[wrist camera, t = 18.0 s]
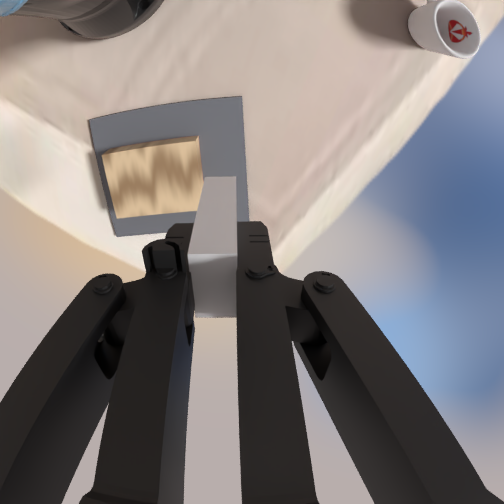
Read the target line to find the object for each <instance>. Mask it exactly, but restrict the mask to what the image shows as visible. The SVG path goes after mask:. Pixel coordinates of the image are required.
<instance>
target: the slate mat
mask: <svg viewBox="0 0 504 504" xmlns="http://www.w3.org/2000/svg"><path fill="white" fill-rule="evenodd" d="M89 122H90V127H91V133H92V138H93V143H94V148H95V153H96V158H97V163H98V167H99V171H100V176H101V180H102V184H103V188H104V192H105V196H106V200H107V204H108V208H109V211H110V215H111V219H112V222H113V226H114V229H115V233H116V236H117V237H121V236H132V235H143V234H155V233H166V232H167V231H168V229H169V228H170V227H172V226H173V225H174V224H175V223H194V222H195V218H196V213H197V211H188V212H177V213H166V214H156V215H146V216H136V217H127V218H118V219H117V217H116V213H115V210H114V206H113V202H112V198H111V194H110V190H109V186H108V182H107V177H106V173H105V168H104V164H103V159H102V154H104V153H105V152H106V151H108V150H109V149H110V148H116V147H121V146H127V145H133V144H139V143H145V142H151V141H158V140H166V139H173V138H181V137H190V136H199V146H200V155H201V164H202V172H203V181H204V180H205V177H233V176H236V205H237V222H248V221H249V208H248V191H247V174H246V156H245V139H244V122H243V105H242V96H238V97H224V98H213V99H203V100H194V101H186V102H178V103H171V104H164V105H158V106H152V107H146V108H140V109H135V110H130V111H125V112H120V113H115V114H111V115H106V116H102V117H98V118H94V119H90V120H89Z"/></svg>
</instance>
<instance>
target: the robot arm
mask: <svg viewBox="0 0 504 504" xmlns="http://www.w3.org/2000/svg"><path fill="white" fill-rule="evenodd" d="M163 1H164V0H0V16H3V17H4V16H8V15H20V16H33V17H43V18H52V19H57V20H58V21H59V22H60V23H61V24H62V25H63V26H64V27H65V28H66V29H67V30H68V31H70V32H71V33H73V34H75V35H78V36H81V37H86V38H94V39H105V38H112V37H116V36H119V35H122V34H124V33H127V32H129V31H131V30H133V29H135V28H136V27H138V26H139V25H141V24H142V23H144V22H145V21H146V20H147V19H148V18H150V17H151V16H152V15H153V14H154V13H155V11H156V10H157V9H158V8H159V7H160V5H161V4H162V2H163ZM142 254H143V259H144V264H145V269H146V275H145V277H144V278H142V279H139V280H136V281H132V282H127V283H123V282H122V279H121V278H120V277H119V276H117V275H115V274H102V275H98V276H96V277H95V278H92V280H90V281H89V282H88V283H87V284H86V285H85V286H84V288H83V289H82V290H81V291H80V293H79V294H78V295H77V296H76V297H75V299H74V300H73V301H72V302H71V304H70V305H69V306H68V307H67V309H66V310H65V311H64V312H63V314H62V315H61V316H60V317H59V319H58V320H57V321H56V323H55V324H54V325H53V327H52V328H51V329H50V331H49V332H48V333H47V335H46V336H45V337H44V339H43V340H42V341H41V343H40V344H39V345H38V347H37V348H36V350H35V351H34V352H33V354H32V355H31V357H30V358H29V360H28V361H27V362H26V364H25V365H24V367H23V368H22V370H21V371H20V373H19V374H18V376H17V377H16V379H15V380H14V382H13V383H12V385H11V387H10V388H9V390H8V391H7V393H6V394H5V396H4V398H3V399H2V401H1V402H0V504H61V503H62V501H63V499H64V496H65V494H66V492H67V490H68V487H69V485H70V483H71V480H72V478H73V476H74V474H75V471H76V469H77V467H78V465H79V463H80V460H81V459H82V456H83V454H84V452H85V450H86V448H87V446H88V444H89V442H90V439H91V437H92V435H93V433H94V431H95V429H96V427H97V425H98V423H99V421H100V419H101V417H102V415H103V413H104V411H105V409H106V407H107V405H108V403H109V405H108V410H107V414H106V419H105V424H104V428H103V433H102V439H101V444H100V449H99V455H98V461H97V467H96V474H95V480H94V485H93V487H92V489H91V491H90V492H88V493H87V494H85V495H84V496H83V497H82V499H81V500H80V502H79V504H183V501H184V470H185V448H186V431H187V415H188V401H189V388H190V376H191V363H192V353H193V343H194V332H195V327H194V321H193V317H194V310H195V316H196V317H205V318H206V317H209V318H211V317H212V318H216V317H217V318H218V317H221V318H222V317H237V362H238V363H237V365H238V405H239V438H240V465H241V489H242V490H241V491H242V504H319V502H318V500H317V497H316V492H315V485H314V478H313V471H312V464H311V458H310V451H309V446H308V439H307V432H306V425H305V420H304V413H303V407H302V400H301V395H300V388H299V382H298V376H297V370H296V365H295V359H294V353H293V347H292V341H293V342H294V346H295V348H296V350H297V351H298V353H299V355H300V357H301V359H302V361H303V363H304V365H305V367H306V369H307V371H308V373H309V375H310V377H311V379H312V381H313V383H314V385H315V387H316V389H317V391H318V393H319V395H320V397H321V399H322V401H323V403H324V405H325V407H326V409H327V411H328V413H329V415H330V417H331V419H332V421H333V423H334V425H335V426H336V429H337V431H338V433H339V435H340V436H341V439H342V441H343V442H344V444H345V446H346V448H347V450H348V452H349V454H350V456H351V458H352V460H353V462H354V464H355V466H356V468H357V470H358V472H359V474H360V476H361V478H362V480H363V482H364V484H365V485H366V487H367V489H368V492H369V494H370V496H371V497H372V499H373V501H374V503H375V504H504V502H503V501H502V500H500V499H499V498H498V497H496V496H495V495H494V494H492V493H491V492H489V491H488V490H487V489H486V488H485V486H484V484H483V482H482V481H481V479H480V477H479V475H478V474H477V472H476V470H475V469H474V467H473V465H472V464H471V462H470V461H469V459H468V457H467V456H466V454H465V453H464V451H463V449H462V447H461V446H460V444H459V443H458V441H457V440H456V438H455V436H454V435H453V434H452V432H451V430H450V429H449V427H448V426H447V424H446V423H445V421H444V420H443V418H442V416H441V415H440V414H439V412H438V411H437V409H436V407H435V406H434V404H433V403H432V401H431V400H430V398H429V397H428V396H427V394H426V393H425V392H424V390H423V388H422V387H421V385H420V384H419V382H418V381H417V380H416V378H415V377H414V375H413V374H412V373H411V371H410V370H409V368H408V367H407V365H406V364H405V363H404V361H403V360H402V359H401V357H400V356H399V354H398V353H397V352H396V350H395V349H394V347H393V346H392V345H391V343H390V342H389V340H388V339H387V338H386V336H385V335H384V334H383V332H382V331H381V330H380V328H379V327H378V326H377V324H376V323H375V322H374V320H373V319H372V318H371V316H370V315H369V314H368V312H367V311H366V310H365V308H364V307H363V306H362V304H361V303H360V302H359V301H358V299H357V298H356V297H355V295H354V294H353V293H352V292H351V290H350V289H349V288H348V287H347V285H346V284H345V283H344V281H343V280H342V279H341V278H339V277H338V276H337V275H335V274H332V273H329V272H324V271H319V272H313V273H310V274H308V275H307V276H306V277H305V278H304V281H301V280H296V279H292V278H288V277H286V276H284V275H282V274H281V273H279V271H278V269H277V267H276V266H275V265H274V262H273V257H272V251H271V246H270V240H269V235H268V229H267V227H266V226H265V225H264V224H263V223H262V222H261V221H248V222H237V205H236V176H233V177H205V180H204V184H203V188H202V192H201V196H200V201H199V205H198V209H197V213H196V218H195V222H194V223H175V224H174V225H173V226H172V227H170V228H169V229H168V231H167V234H166V237H165V239H160V240H156V241H153V242H151V243H149V244H148V245H146V246H145V247H144V248H143V250H142Z"/></svg>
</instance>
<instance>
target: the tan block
mask: <svg viewBox="0 0 504 504" xmlns="http://www.w3.org/2000/svg"><path fill="white" fill-rule="evenodd" d="M102 159H103V164H104V168H105V173H106V177H107V182H108V186H109V190H110V194H111V198H112V202H113V206H114V210H115V213H116V217H117V219H118V218H127V217H136V216H146V215H156V214H166V213H177V212H188V211H197V209H198V205H199V201H200V196H201V192H202V188H203V184H204V181H203V172H202V164H201V155H200V146H199V136H190V137H181V138H173V139H166V140H158V141H151V142H145V143H139V144H133V145H127V146H121V147H116V148H110V149H109V150H108V151H106V152H105V153H104V154H102Z"/></svg>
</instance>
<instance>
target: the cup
mask: <svg viewBox="0 0 504 504" xmlns="http://www.w3.org/2000/svg"><path fill="white" fill-rule="evenodd" d="M408 28H409V31H410V34H411V36H412V38H413V39H414V40H415V42H416V43H417V44H418V45H420V46H421V47H422V48H424V49H426V50H429V51H432V52H436V53H441V54H445V55H449V56H453V57H457V58H462V59H466V58H470V57H472V56H473V55H475V54H476V52H477V51H478V49H479V46H480V41H481V35H480V29H479V26H478V23H477V21H476V19H475V17H474V15H473V14H472V13H471V11H470V10H469V9H468V8H467V7H466V6H465V5H464V4H462V3H461V2H459V1H457V0H427V4H426V5H423V6H421V7H419V8H417V9H415V10H414V11H413V12H412V13H411V14H410V16H409V19H408Z"/></svg>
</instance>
